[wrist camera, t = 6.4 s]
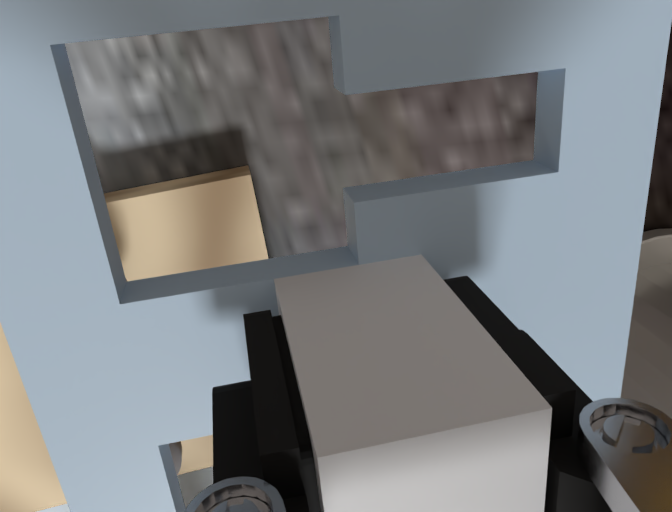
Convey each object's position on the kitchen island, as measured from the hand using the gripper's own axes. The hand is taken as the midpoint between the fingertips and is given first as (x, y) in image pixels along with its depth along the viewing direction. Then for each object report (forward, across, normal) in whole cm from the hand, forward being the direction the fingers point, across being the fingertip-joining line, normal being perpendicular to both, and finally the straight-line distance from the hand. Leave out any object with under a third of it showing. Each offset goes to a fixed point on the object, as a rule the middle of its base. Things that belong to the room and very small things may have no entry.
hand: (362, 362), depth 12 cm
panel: (+2, 0, 0) cm, 2 cm away
